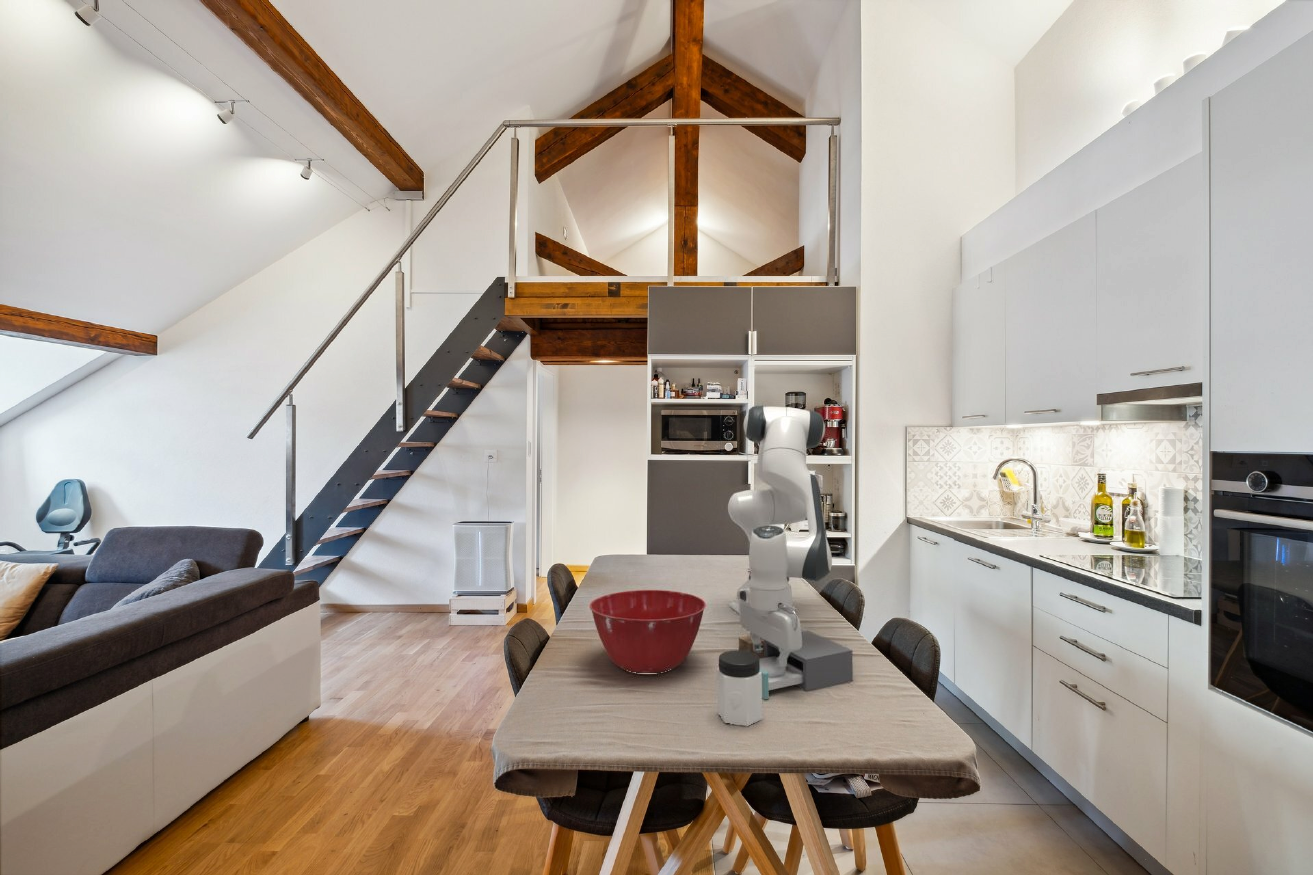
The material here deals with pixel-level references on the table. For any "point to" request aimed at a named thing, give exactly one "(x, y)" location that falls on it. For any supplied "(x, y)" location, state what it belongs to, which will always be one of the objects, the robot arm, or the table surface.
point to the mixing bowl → (647, 628)
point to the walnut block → (750, 646)
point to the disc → (772, 668)
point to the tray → (780, 678)
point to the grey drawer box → (818, 661)
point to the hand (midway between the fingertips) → (769, 658)
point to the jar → (739, 687)
